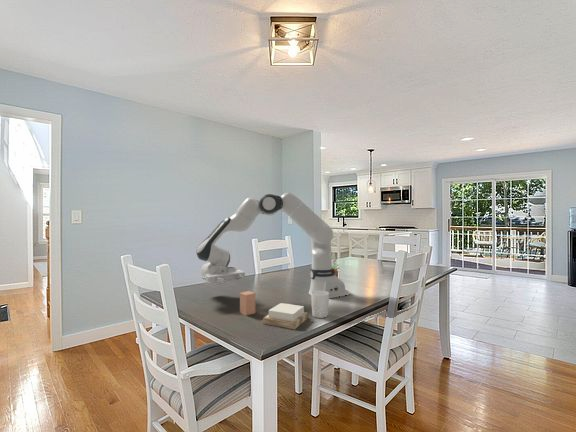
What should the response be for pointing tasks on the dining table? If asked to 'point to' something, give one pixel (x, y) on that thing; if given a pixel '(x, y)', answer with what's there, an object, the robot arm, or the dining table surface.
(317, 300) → the white cup
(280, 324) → the oak slab
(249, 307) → the terracotta pillar
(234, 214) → the robot arm
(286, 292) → the dining table surface
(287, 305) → the cream slab
